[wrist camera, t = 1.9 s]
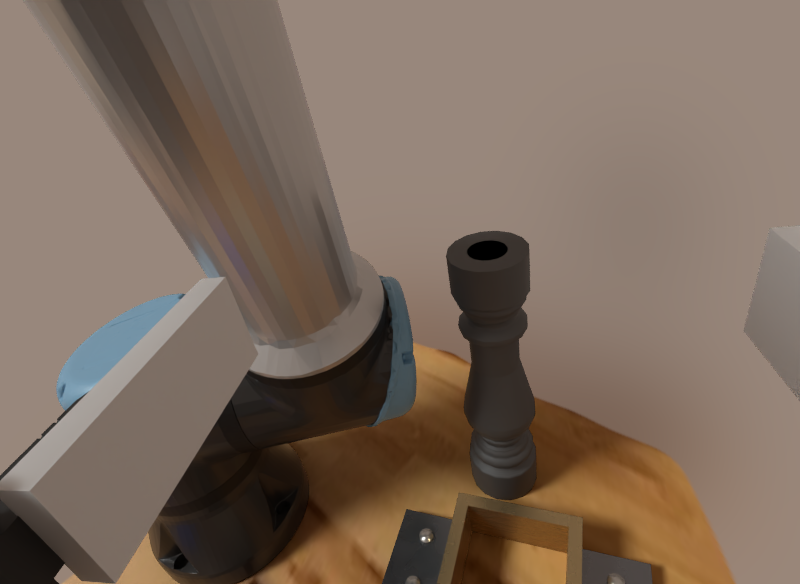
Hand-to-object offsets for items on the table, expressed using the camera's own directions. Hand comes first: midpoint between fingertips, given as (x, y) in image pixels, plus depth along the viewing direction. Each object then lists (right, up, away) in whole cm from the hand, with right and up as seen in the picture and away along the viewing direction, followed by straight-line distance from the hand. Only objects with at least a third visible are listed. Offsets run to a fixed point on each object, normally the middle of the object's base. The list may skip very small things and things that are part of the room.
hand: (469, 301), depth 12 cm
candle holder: (+9, -18, +34) cm, 39 cm away
